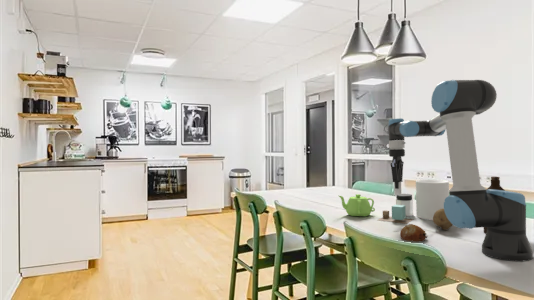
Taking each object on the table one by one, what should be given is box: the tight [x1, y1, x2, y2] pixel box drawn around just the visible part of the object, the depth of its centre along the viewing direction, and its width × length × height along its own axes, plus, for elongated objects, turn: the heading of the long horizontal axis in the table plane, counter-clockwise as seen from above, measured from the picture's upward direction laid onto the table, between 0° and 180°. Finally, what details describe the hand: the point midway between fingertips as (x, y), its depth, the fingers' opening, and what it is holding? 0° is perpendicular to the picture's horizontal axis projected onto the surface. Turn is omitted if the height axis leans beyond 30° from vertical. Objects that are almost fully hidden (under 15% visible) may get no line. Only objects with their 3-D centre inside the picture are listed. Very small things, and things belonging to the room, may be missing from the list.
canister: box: [415, 179, 450, 221], centre depth 184 cm, size 16×16×20 cm
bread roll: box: [399, 223, 428, 243], centre depth 148 cm, size 10×10×8 cm
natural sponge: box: [432, 209, 454, 231], centre depth 160 cm, size 9×9×10 cm
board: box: [377, 216, 414, 225], centre depth 180 cm, size 12×15×1 cm
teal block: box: [391, 204, 407, 220], centre depth 177 cm, size 5×5×7 cm
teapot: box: [338, 193, 376, 217], centre depth 194 cm, size 16×14×13 cm
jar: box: [395, 193, 414, 217], centre depth 191 cm, size 9×8×12 cm
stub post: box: [382, 209, 390, 218], centre depth 186 cm, size 3×3×4 cm
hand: (397, 194), depth 177 cm, fingers closed
